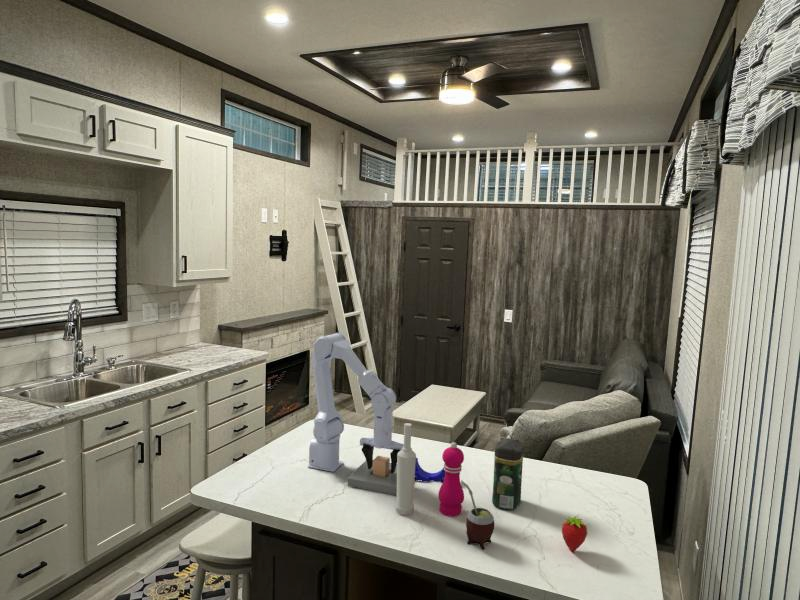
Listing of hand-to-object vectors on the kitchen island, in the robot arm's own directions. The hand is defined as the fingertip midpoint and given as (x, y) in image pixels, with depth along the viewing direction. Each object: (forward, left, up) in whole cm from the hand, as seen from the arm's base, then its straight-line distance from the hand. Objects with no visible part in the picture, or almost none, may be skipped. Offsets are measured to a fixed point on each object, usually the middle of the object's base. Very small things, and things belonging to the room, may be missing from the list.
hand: (381, 470), depth 170 cm
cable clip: (+14, +7, -4) cm, 16 cm away
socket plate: (0, 0, -3) cm, 3 cm away
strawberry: (+58, -19, -3) cm, 61 cm away
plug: (0, 0, -3) cm, 3 cm away
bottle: (+13, -16, -3) cm, 21 cm away
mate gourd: (+35, -24, -3) cm, 43 cm away
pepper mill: (+25, -11, -3) cm, 28 cm away
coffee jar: (+39, 0, -3) cm, 39 cm away
